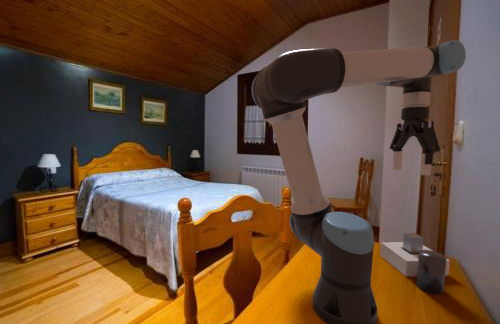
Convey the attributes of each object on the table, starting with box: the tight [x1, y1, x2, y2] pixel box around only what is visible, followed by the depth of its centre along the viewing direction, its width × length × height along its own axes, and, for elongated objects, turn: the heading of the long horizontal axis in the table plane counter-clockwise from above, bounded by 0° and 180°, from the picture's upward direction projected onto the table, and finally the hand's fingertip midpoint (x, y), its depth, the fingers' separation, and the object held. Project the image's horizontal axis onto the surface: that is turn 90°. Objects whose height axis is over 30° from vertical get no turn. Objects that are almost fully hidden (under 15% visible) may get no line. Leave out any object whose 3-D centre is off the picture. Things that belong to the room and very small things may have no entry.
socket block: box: [379, 241, 451, 277], centre depth 84 cm, size 14×14×5 cm
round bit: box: [415, 249, 448, 296], centre depth 71 cm, size 6×6×10 cm
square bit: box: [402, 232, 425, 255], centre depth 84 cm, size 4×4×10 cm
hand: (409, 172), depth 82 cm, fingers open, 13 cm apart
